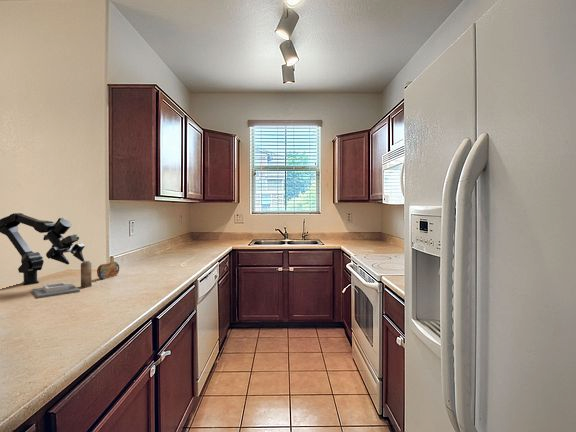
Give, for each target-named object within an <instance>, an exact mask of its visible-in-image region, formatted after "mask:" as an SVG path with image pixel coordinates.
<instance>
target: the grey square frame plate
mask: <svg viewBox="0 0 576 432" xmlns="http://www.w3.org/2000/svg"><path fill="white" fill-rule="evenodd" d="M31 291H32V293H33V294H34V295H35V297H36V298H37V299H40V298H47V297H54V296H55V297H56V296H61V295H66V294H74V293H79V292H81V290H80V288H78V287H77V286H75V285H74V284H72V283H68V284H67V283H66V282H65V281H64V282H58V283H50V284H44V285H42V287H40V288H39V287H38V288H32V289H31Z"/></svg>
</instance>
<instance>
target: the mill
mask: <svg viewBox="0 0 576 432" xmlns="http://www.w3.org/2000/svg"><path fill="white" fill-rule="evenodd" d="M92 286H93V285H92V262H90V260H84V261H83V262H81V263H80V288H83V289H84V288H91V287H92Z"/></svg>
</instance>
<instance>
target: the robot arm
mask: <svg viewBox="0 0 576 432" xmlns="http://www.w3.org/2000/svg"><path fill="white" fill-rule="evenodd" d="M21 224H23V225H26V226H29V227H31V228H33V230H35V231H36V232H38V233H40V234H44V233H45V234H44V235H43V238H42V240H43V241H49V242H50V243H51V247H50V249H48V250H47V251H46V253H45V256H46V258H47V259H51V260H54V261H57V262H60V263H62V264H65V265H67V266H68V265H69V264H70V261H69V260H68V259H67V257H66V256H65V255H64V254H65V253H71V254H72V256H73V257H74V258H76V259H78V260H79V261H81V263H83V261H85V259H84V255H83V249H84V248H85V247H86V246H85V244H84V243H75V242H78V241H79V240H80V237H79V235H78V234H76V233H75V234H71V235H67V236H65V237H63V235H65V234H66V233H67V232H68V231H69V230H70V228H71V227H72V226H73V225H72V222H71V221H69V220H67V219H65V218H63V217H58V219H57V221H55V222H53V221H51V220H41V219H39V218H34V217H32V216H29V215H26V214H24V213H22V212H17V213H16V212H15V213H14V212H13V213H11V214H9V215H8V216H4V217H3V218H0V234H2V235H4V236H6V237H7V239H8V240H9V241H10V243H11V244H12V245H13V246H14V248H15V249H16V251H17V253H18V254H19V255H20V256H21V259H20V261H21V265H20V266H19V267H18V268H17V271H18V274H19V273H22V274H23V275H22V276H23V281H21V284H22V285H32V284H39V283H40V281H39V280H38V271H41V270H42V269H43V266H44V262H45V261H44V259H43V258H44V257H43V256H41V253H40V252H38V251H37V252H34V251H33V250H32V249H31V248H30V247H29V245H28V243H27V242H26V241H25V240H24V238H23V237H22V235H21V234H20V233H19V225H21ZM74 243H75V244H74Z"/></svg>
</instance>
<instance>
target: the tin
mask: <svg viewBox="0 0 576 432" xmlns="http://www.w3.org/2000/svg"><path fill="white" fill-rule="evenodd" d="M119 272H120V265H119V263H118V262H117V261H110V262H107V263H103V264H99V266H98V267H97V269H96V275H97V277H98V278H99V279H101V280H103V279H104V280H106V279H110V278H113V277H116V276H117V275H118V274H119Z"/></svg>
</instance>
